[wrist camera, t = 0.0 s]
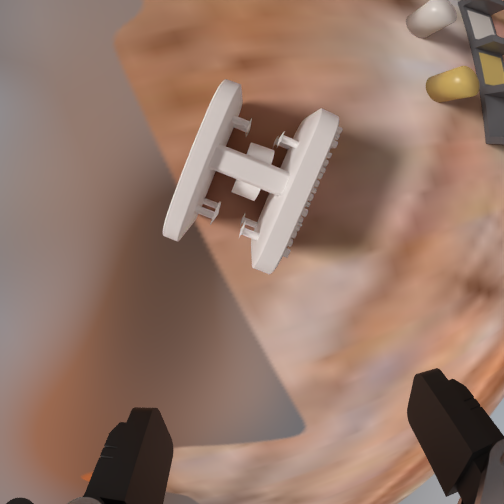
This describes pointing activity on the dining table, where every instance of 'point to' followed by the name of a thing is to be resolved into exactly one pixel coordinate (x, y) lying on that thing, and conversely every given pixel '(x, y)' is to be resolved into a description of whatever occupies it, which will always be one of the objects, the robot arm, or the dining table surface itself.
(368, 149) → the dining table surface
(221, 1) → the dining table surface
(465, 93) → the plug mustard
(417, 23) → the plug white
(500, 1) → the grey compartment rack
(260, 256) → the cable organizer
